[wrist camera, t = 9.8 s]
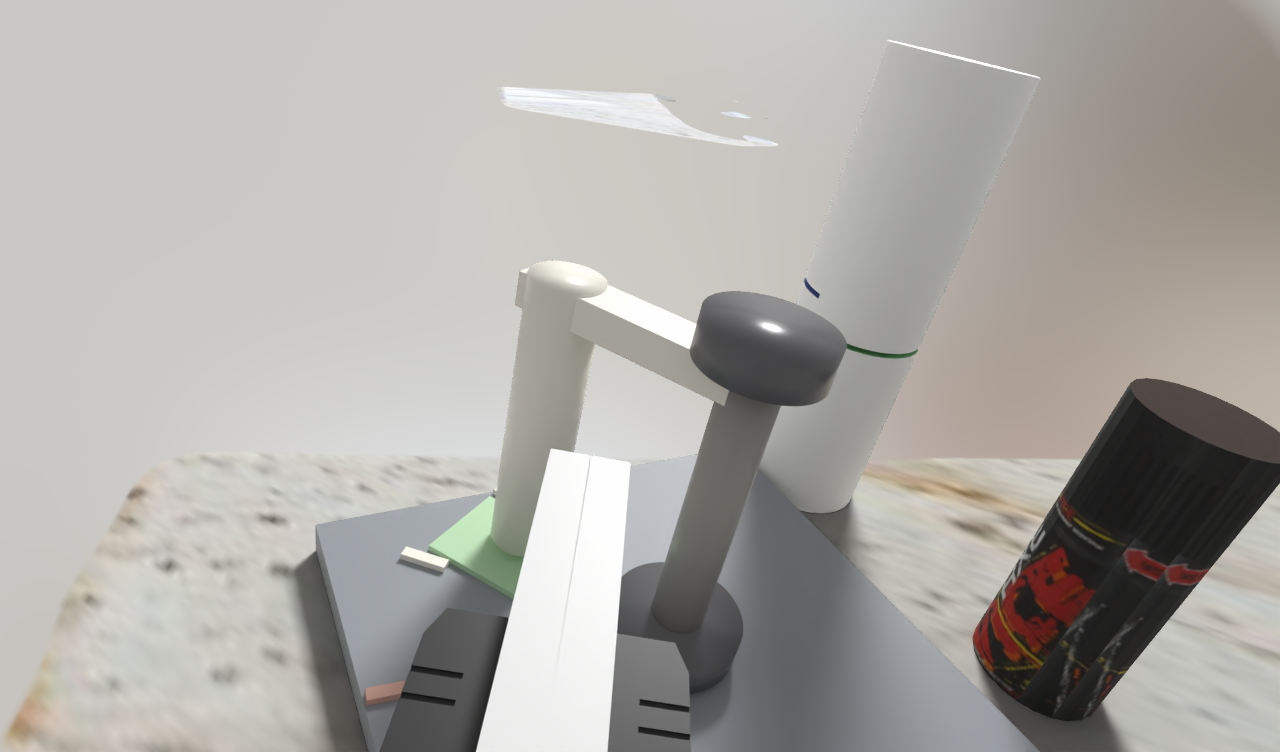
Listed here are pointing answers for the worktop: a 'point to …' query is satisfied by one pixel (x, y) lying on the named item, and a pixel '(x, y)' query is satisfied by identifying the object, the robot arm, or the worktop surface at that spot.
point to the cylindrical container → (892, 252)
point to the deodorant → (1125, 544)
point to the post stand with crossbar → (729, 453)
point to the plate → (752, 574)
